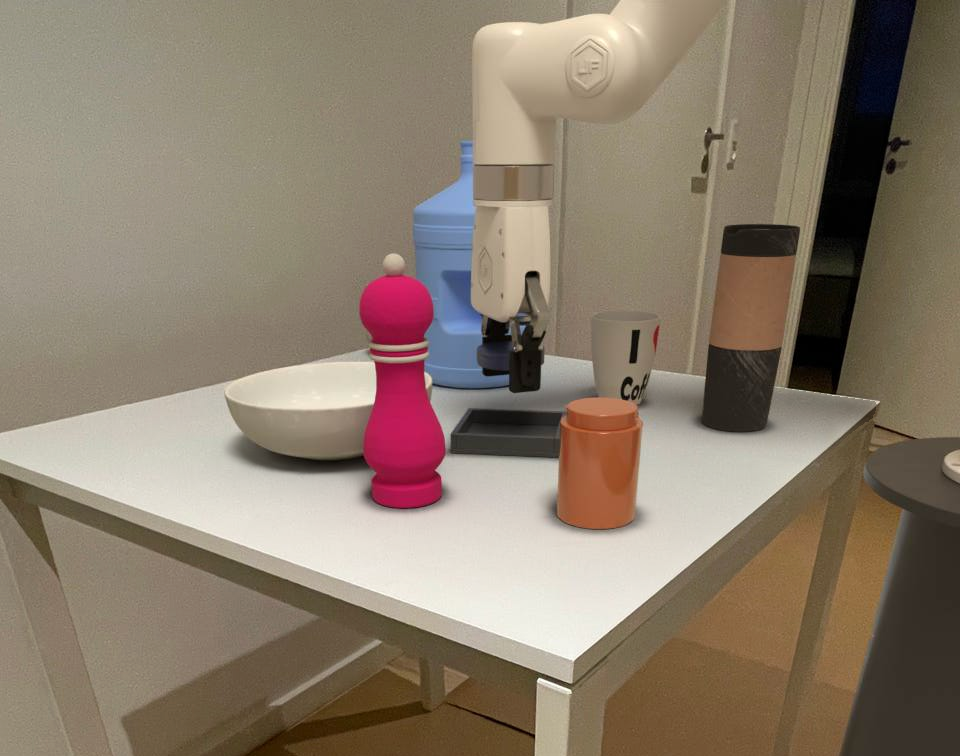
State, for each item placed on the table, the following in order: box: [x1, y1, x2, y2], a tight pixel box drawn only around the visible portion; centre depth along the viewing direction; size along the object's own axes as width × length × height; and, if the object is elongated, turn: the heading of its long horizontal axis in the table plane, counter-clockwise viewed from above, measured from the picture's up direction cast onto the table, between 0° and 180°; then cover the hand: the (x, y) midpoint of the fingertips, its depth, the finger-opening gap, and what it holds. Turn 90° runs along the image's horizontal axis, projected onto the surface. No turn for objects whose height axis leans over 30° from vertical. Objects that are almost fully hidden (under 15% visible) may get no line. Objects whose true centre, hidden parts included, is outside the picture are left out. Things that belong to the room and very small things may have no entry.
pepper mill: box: [358, 253, 447, 509], centre depth 71 cm, size 7×7×20 cm
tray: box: [450, 407, 567, 459], centre depth 90 cm, size 11×10×2 cm
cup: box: [590, 310, 662, 406], centre depth 101 cm, size 8×8×10 cm
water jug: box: [412, 140, 527, 389], centre depth 109 cm, size 16×16×28 cm
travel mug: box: [701, 223, 801, 433], centre depth 90 cm, size 8×8×20 cm
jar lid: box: [477, 341, 546, 371], centre depth 86 cm, size 7×7×2 cm
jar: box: [556, 397, 644, 530], centre depth 69 cm, size 7×7×9 cm
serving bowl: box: [223, 361, 433, 461], centre depth 87 cm, size 21×21×7 cm
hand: (510, 381), depth 87 cm, fingers closed on jar lid, 6 cm apart
